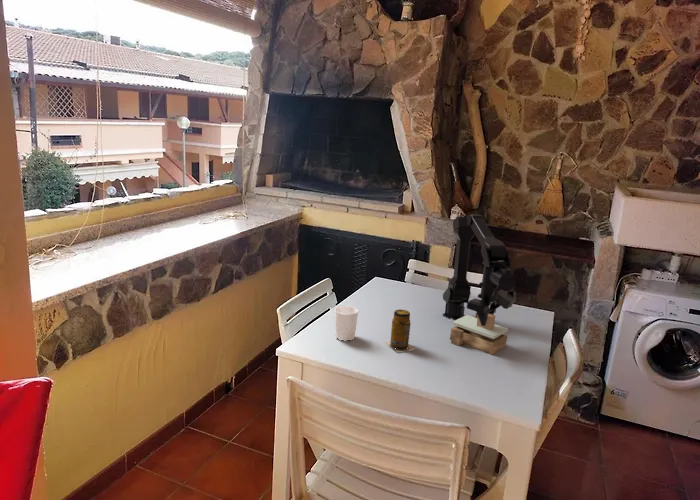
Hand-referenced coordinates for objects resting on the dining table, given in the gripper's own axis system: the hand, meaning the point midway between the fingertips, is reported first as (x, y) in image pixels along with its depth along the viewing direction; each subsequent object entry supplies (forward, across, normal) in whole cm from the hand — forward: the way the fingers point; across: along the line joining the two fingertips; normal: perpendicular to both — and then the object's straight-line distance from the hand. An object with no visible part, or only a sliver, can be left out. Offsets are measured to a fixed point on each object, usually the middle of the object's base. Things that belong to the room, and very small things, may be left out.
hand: (485, 324), depth 176 cm
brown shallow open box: (+8, 0, +2) cm, 8 cm away
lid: (+2, 0, +2) cm, 3 cm away
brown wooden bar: (+2, +13, +7) cm, 14 cm away
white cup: (+8, -32, +35) cm, 48 cm away
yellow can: (+8, -23, +18) cm, 30 cm away
